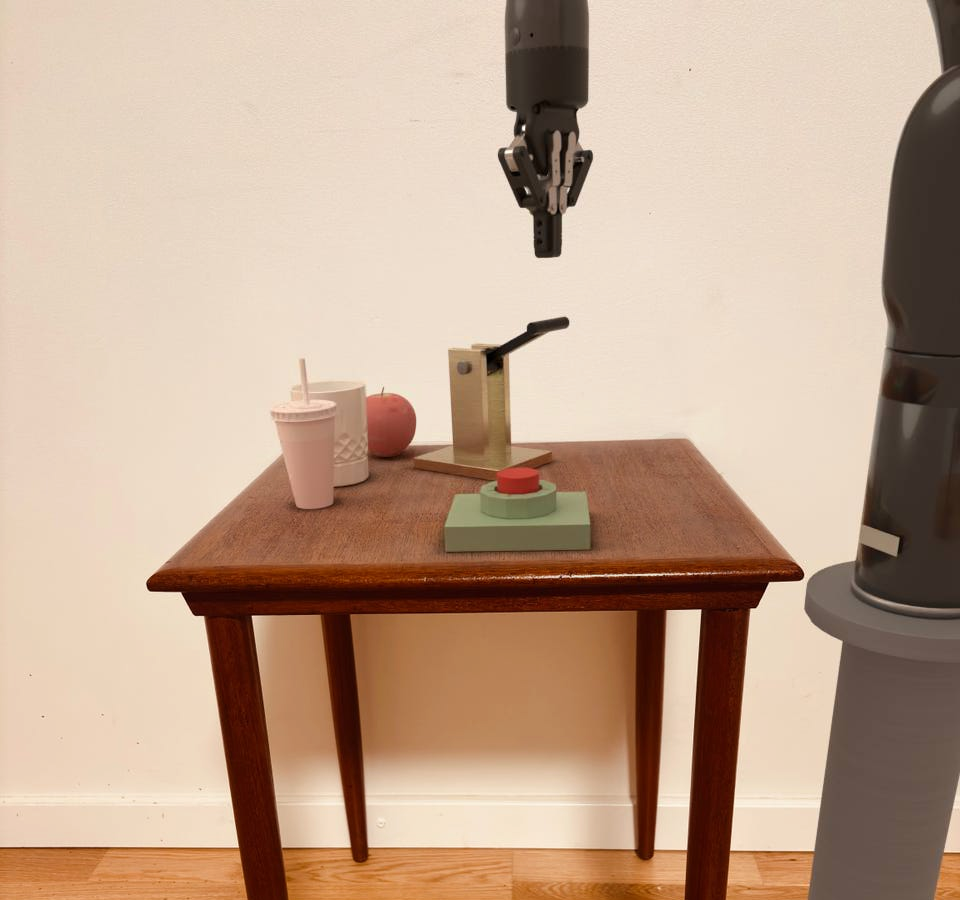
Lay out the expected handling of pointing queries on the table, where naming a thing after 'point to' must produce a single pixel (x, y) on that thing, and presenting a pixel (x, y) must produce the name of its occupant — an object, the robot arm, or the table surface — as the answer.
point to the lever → (524, 339)
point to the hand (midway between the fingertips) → (548, 257)
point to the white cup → (344, 426)
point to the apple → (389, 424)
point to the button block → (518, 521)
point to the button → (518, 481)
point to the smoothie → (308, 446)
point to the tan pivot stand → (480, 421)
